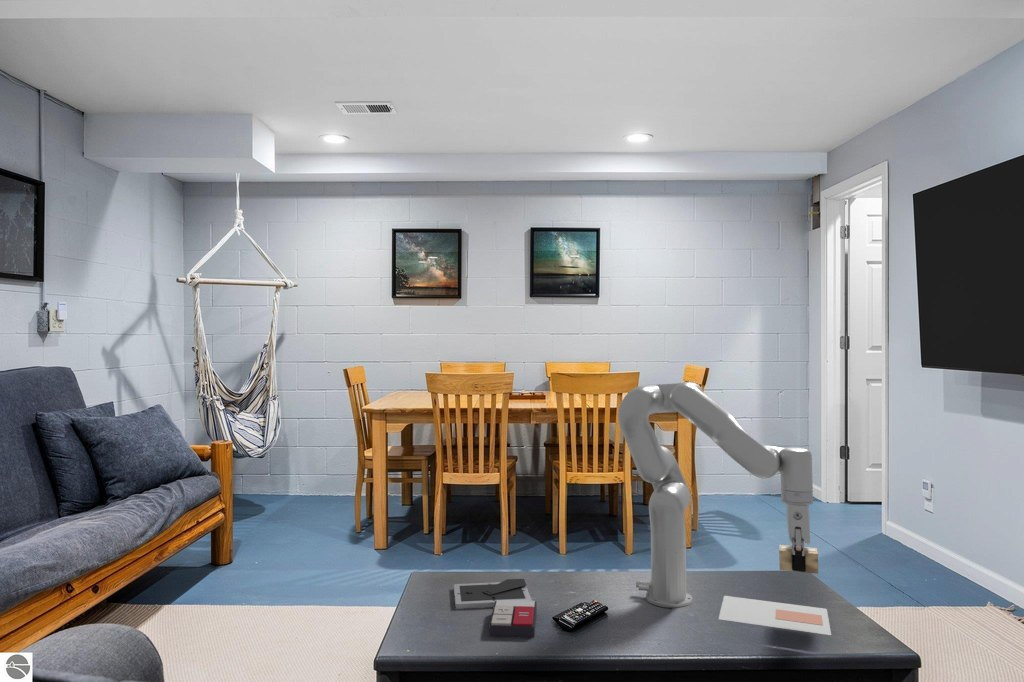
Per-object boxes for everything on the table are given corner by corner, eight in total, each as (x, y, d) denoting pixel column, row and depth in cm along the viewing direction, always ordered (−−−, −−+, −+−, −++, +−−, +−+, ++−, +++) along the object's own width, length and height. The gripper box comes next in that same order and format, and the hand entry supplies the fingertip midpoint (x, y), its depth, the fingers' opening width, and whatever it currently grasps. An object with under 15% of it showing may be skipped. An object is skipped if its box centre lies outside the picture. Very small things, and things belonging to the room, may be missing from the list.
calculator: (488, 622, 158) (495, 597, 173) (488, 640, 158) (495, 613, 173) (534, 624, 157) (536, 598, 172) (534, 641, 157) (536, 614, 172)
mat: (718, 621, 167) (718, 618, 167) (724, 597, 183) (724, 595, 183) (831, 637, 157) (831, 634, 157) (826, 610, 174) (826, 608, 174)
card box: (817, 567, 169) (816, 547, 169) (818, 574, 164) (817, 553, 164) (779, 563, 172) (779, 544, 173) (779, 569, 167) (779, 549, 168)
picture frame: (524, 588, 193) (453, 591, 191) (524, 578, 194) (453, 581, 191) (532, 608, 178) (455, 611, 175) (532, 597, 178) (455, 601, 175)
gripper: (814, 504, 159) (816, 579, 159) (811, 491, 175) (813, 559, 175) (781, 502, 162) (782, 575, 162) (781, 489, 178) (782, 556, 178)
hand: (798, 566), depth 168 cm, fingers closed on card box, 5 cm apart
